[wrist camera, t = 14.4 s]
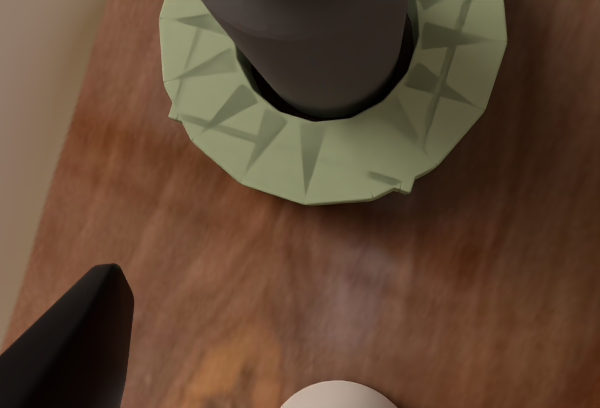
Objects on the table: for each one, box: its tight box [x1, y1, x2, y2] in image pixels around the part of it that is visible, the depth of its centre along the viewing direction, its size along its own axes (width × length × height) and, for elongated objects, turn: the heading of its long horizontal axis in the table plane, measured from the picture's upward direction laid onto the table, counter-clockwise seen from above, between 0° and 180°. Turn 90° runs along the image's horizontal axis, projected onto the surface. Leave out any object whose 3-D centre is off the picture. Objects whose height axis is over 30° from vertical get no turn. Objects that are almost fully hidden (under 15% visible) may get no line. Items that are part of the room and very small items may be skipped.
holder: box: [159, 0, 507, 206], centre depth 22 cm, size 13×13×2 cm
